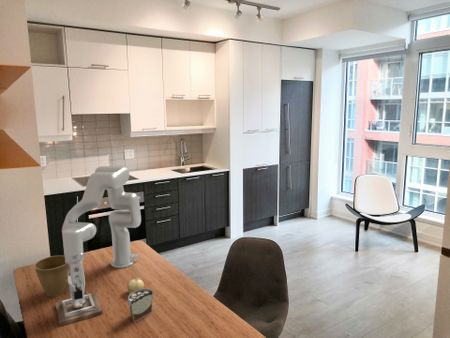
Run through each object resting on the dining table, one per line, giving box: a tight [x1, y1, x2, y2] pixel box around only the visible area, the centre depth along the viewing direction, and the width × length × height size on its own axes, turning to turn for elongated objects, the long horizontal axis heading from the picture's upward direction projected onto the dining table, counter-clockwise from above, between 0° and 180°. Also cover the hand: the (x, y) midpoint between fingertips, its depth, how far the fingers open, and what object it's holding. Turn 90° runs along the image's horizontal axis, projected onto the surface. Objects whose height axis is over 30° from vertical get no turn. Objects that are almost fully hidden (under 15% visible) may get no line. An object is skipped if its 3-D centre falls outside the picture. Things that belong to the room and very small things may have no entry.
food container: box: [127, 288, 155, 323], centre depth 147 cm, size 12×6×10 cm, turn 141°
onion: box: [126, 276, 145, 294], centre depth 165 cm, size 8×8×7 cm
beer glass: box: [67, 270, 86, 308], centre depth 150 cm, size 7×7×15 cm
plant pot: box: [33, 255, 69, 298], centre depth 164 cm, size 15×15×16 cm
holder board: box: [55, 292, 103, 327], centre depth 151 cm, size 17×17×3 cm
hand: (77, 294), depth 150 cm, fingers closed on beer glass, 6 cm apart
